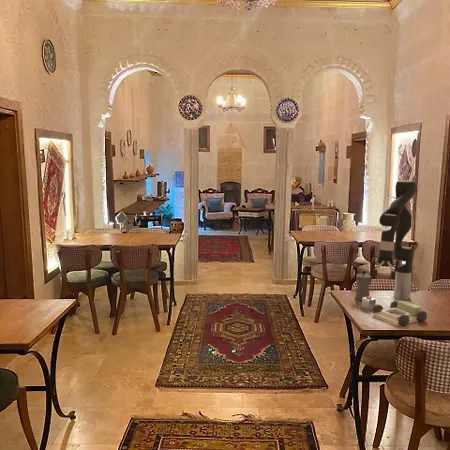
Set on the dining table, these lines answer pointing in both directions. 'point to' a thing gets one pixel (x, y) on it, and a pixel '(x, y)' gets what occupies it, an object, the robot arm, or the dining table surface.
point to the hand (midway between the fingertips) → (383, 277)
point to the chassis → (400, 313)
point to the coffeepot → (363, 285)
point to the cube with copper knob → (368, 302)
